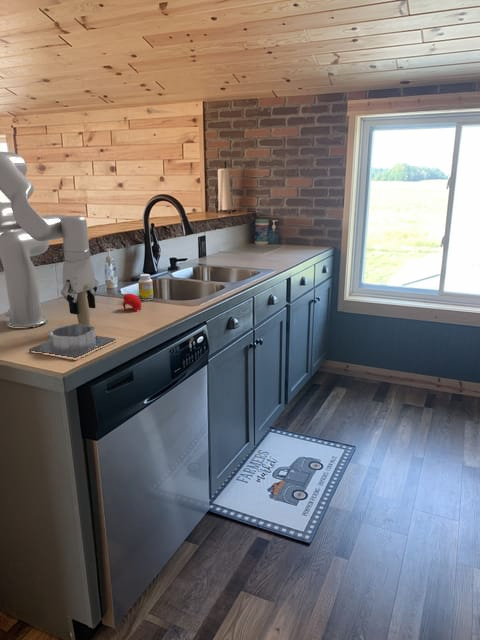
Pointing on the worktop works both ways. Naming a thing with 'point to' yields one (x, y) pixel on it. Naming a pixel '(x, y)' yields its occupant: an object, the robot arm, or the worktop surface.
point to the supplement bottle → (145, 287)
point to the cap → (132, 301)
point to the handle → (83, 307)
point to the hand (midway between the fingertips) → (83, 310)
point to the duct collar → (72, 341)
